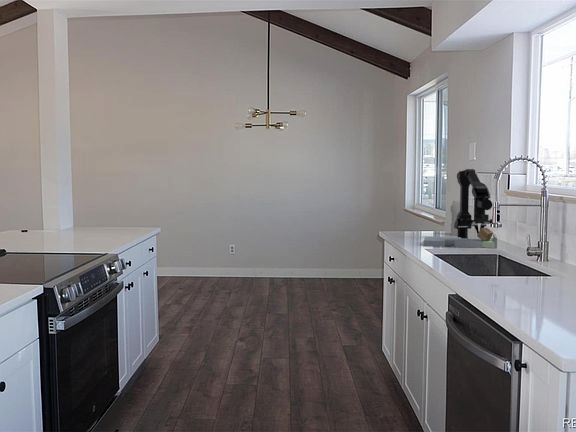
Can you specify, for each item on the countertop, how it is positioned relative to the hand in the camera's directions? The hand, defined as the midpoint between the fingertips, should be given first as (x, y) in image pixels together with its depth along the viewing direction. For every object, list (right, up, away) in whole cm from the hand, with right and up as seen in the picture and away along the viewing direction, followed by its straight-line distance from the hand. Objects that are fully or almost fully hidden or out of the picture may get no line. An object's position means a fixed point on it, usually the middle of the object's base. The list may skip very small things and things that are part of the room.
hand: (479, 237), depth 292 cm
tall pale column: (+3, -1, +43) cm, 44 cm away
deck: (-10, -4, +4) cm, 11 cm away
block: (+1, 0, -4) cm, 4 cm away
